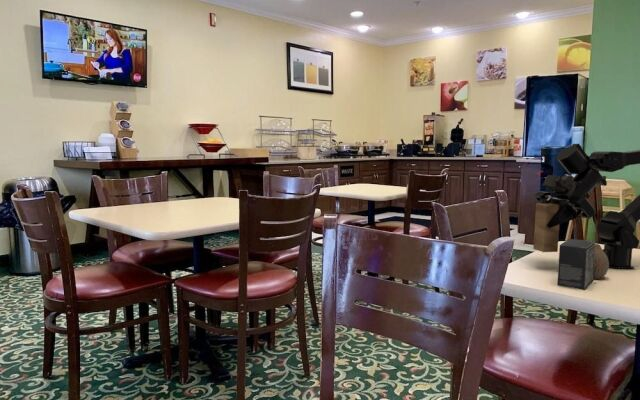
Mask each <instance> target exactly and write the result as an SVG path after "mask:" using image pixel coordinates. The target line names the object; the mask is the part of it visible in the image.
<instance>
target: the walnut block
mask: <svg viewBox="0 0 640 400" xmlns="http://www.w3.org/2000/svg"><path fill="white" fill-rule="evenodd" d="M558 210H559V205H556V204H551V203H536V204H535V215H534V216H535V217H534V218H535V219H534V231H533V233H534V235H533V248H532V249H533V250H536V251H537V252H542V253H559V239H560V238H559V235H560V224H559V225H556V226H554V227H551V228H548V226H547V224H548V222H549V221H550V220H551V218H552V217H553V216H554V215H555V214H556V212H557V211H558Z"/></svg>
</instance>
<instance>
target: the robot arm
mask: <svg viewBox="0 0 640 400" xmlns="http://www.w3.org/2000/svg"><path fill="white" fill-rule="evenodd" d="M556 160H557V161H558V162H559V164H561V166H562V167H563V169H565V170H566V172H567V173H568V174H569V175H563V176H558V175H552V174H551V175H550V174H548V175H547V176H546V178H545V180H544V182H543V184H542V186H543V187H545V188H548V189H550V190H552V194H553V195H554V196H555V197H554V196H553V195H552V194H551V193H550V192H548V191H537V193H535V194H534V195H533V197H534V199H535V200H536V201H537V203H538V204H540V203H551V204H556V205H559V210H558V211H557V212H556V214H555V215H554V216H553V217H552V218H551V220H550V221H549V222H548V224H547V226H548V228H551V227H554V226H556V225H559V226H560V225H561V224H565V223H566V222H570V221H573V220H577V219H580V218H583V219H589V220H590V219H591V218H592V217H593V216H594V215H595V214H596V209H595V207H594V206H593V205H592V204H591V202H590V201H589V200H588V199H589V198H590V197H591V195H590V193H591V191H592V190H594V188H595V187H596V186H602V187H603V186H604V187H606V186H607V185H608V183H607V176H606V175H602V174H601V172H602V173H603V172H604V173H614V172H616V171H620V170H623V169H624V168H626V167H628V166H632V165H639V164H640V149H636V150H630V151H629V150H628V151H610V150H609V151H608V150H607V151H603V150H602V151H593V152H591V153H590V155H588V154H587V152H585V150H584V149H583V147H582V146H581V145H580V143H573V144H572V145H570V146H568V147H566V148H564V149H563V150H560V152H558V154H556ZM570 175H574V176H573V177H572V176H570ZM580 214H581V217H580V216H579V215H580ZM639 221H640V194H638V195H637V197H635V198H634V199H632V201H631V202H630V203H628V205H626V206H625V207H624V208H623V209H622V210H620V211H614V210H613V211H612V210H609V211H608V212H607V213H606V214H605V215H604V216H603V217H601V218H599V222H598V223H597V225H596V227H597V228H596V233H597V235H598V239H599V243H601V244H604V245H603V248H602V250H603V251H604V252H605V254H606V255H607V257H608V260H609V268H611V269H624V270H625V269H626V270H627V269H629V270H630V269H633V270H634V269H635V266H633V265H632V255H633V249H637V248H638V247H639V244H640V240H639V239H638V237H637V236H636V235H635V234H634V233H635V232H636V230H637V229H636V228H637V223H638V222H639Z"/></svg>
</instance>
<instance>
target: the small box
mask: <svg viewBox="0 0 640 400" xmlns="http://www.w3.org/2000/svg"><path fill="white" fill-rule="evenodd" d="M595 244H596V241H595V240H585V239H575V238H568V239H567V240H565V241H564V242H562V243H561V244H559V247H558V266H557V267H558V269H557V270H558V271H557V286H558V287H559V286H560V287H566V288H571V289H577V290H582V291H585V290H586V289H587V288H588V287H590V284H592V282H593V281H594V279H593V263H594V248H595Z"/></svg>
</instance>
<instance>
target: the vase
mask: <svg viewBox="0 0 640 400" xmlns="http://www.w3.org/2000/svg"><path fill="white" fill-rule="evenodd" d="M609 268H610V267H609V260H608V257H607V255H606V254H605V252H604V251H603V248H602V246H601V244H598V243H595V248H594V263H593V280H600V279H603V278H604V277H605V276H606V275H607V274H608V271H609Z"/></svg>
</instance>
